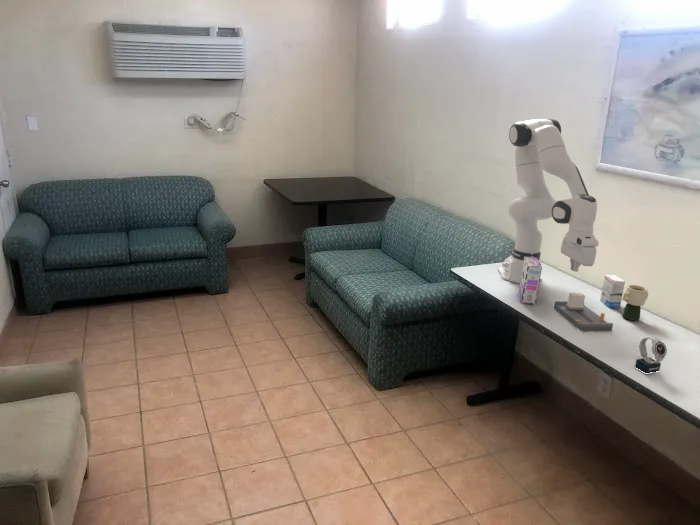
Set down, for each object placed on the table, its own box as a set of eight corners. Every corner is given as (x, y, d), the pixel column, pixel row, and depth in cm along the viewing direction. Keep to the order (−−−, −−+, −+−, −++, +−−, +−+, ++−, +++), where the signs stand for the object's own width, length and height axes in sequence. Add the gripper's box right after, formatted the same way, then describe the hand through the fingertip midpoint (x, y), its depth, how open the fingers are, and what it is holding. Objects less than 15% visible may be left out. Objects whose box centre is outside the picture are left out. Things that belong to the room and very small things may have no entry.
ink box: (620, 308, 226) (626, 281, 222) (608, 308, 226) (614, 281, 222) (610, 300, 234) (616, 274, 231) (599, 300, 234) (604, 274, 231)
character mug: (635, 314, 220) (642, 284, 217) (648, 321, 214) (656, 290, 210) (612, 315, 218) (619, 284, 214) (625, 323, 211) (632, 291, 207)
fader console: (553, 307, 222) (555, 296, 221) (581, 308, 224) (583, 296, 222) (580, 331, 201) (583, 318, 200) (611, 331, 203) (614, 318, 201)
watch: (651, 377, 170) (659, 345, 167) (630, 365, 177) (637, 334, 174) (664, 375, 172) (672, 343, 169) (643, 363, 179) (650, 332, 176)
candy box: (536, 305, 224) (542, 266, 219) (521, 303, 225) (527, 265, 220) (532, 293, 237) (538, 257, 232) (518, 292, 238) (524, 255, 233)
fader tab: (564, 305, 219) (567, 292, 217) (579, 306, 220) (581, 292, 218) (569, 309, 215) (572, 295, 213) (584, 309, 216) (587, 296, 214)
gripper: (559, 230, 224) (554, 262, 228) (585, 243, 205) (579, 278, 209) (574, 230, 225) (568, 263, 229) (601, 243, 206) (594, 278, 210)
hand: (574, 270), depth 219 cm, fingers closed
